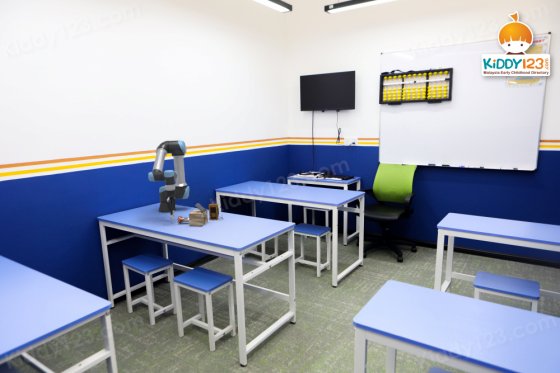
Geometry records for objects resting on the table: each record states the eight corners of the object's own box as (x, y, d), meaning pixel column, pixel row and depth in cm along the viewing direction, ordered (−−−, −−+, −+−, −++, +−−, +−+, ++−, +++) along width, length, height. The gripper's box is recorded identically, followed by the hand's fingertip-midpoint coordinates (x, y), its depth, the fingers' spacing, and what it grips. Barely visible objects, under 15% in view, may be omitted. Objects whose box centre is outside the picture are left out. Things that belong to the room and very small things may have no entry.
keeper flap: (197, 203, 283) (198, 202, 283) (204, 210, 284) (205, 209, 283) (194, 205, 278) (195, 204, 277) (202, 212, 278) (202, 211, 278)
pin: (177, 224, 283) (177, 217, 282) (180, 222, 288) (180, 215, 287) (195, 224, 281) (194, 217, 280) (197, 222, 286) (197, 215, 285)
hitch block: (196, 221, 291) (195, 207, 289) (208, 221, 289) (207, 207, 287) (189, 226, 277) (188, 211, 275) (202, 226, 276) (201, 212, 273)
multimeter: (225, 216, 303) (224, 194, 299) (222, 219, 293) (220, 196, 289) (208, 216, 304) (207, 193, 301) (205, 219, 294) (203, 196, 291)
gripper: (169, 188, 288) (171, 216, 292) (162, 191, 275) (164, 220, 279) (178, 188, 287) (180, 216, 291) (171, 191, 274) (173, 220, 278)
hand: (172, 218), depth 285 cm, fingers closed
